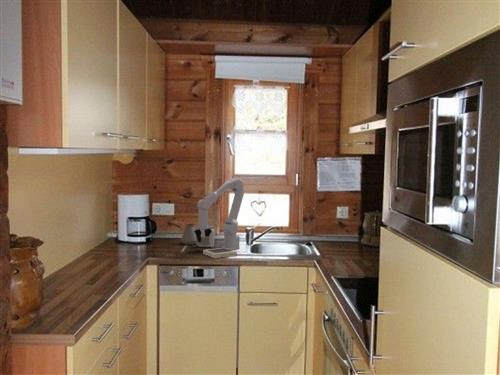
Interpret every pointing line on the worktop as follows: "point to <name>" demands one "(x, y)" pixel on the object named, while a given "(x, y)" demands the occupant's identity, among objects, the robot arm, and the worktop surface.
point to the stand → (220, 252)
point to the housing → (203, 240)
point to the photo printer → (211, 239)
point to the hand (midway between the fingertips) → (202, 241)
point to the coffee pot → (187, 234)
